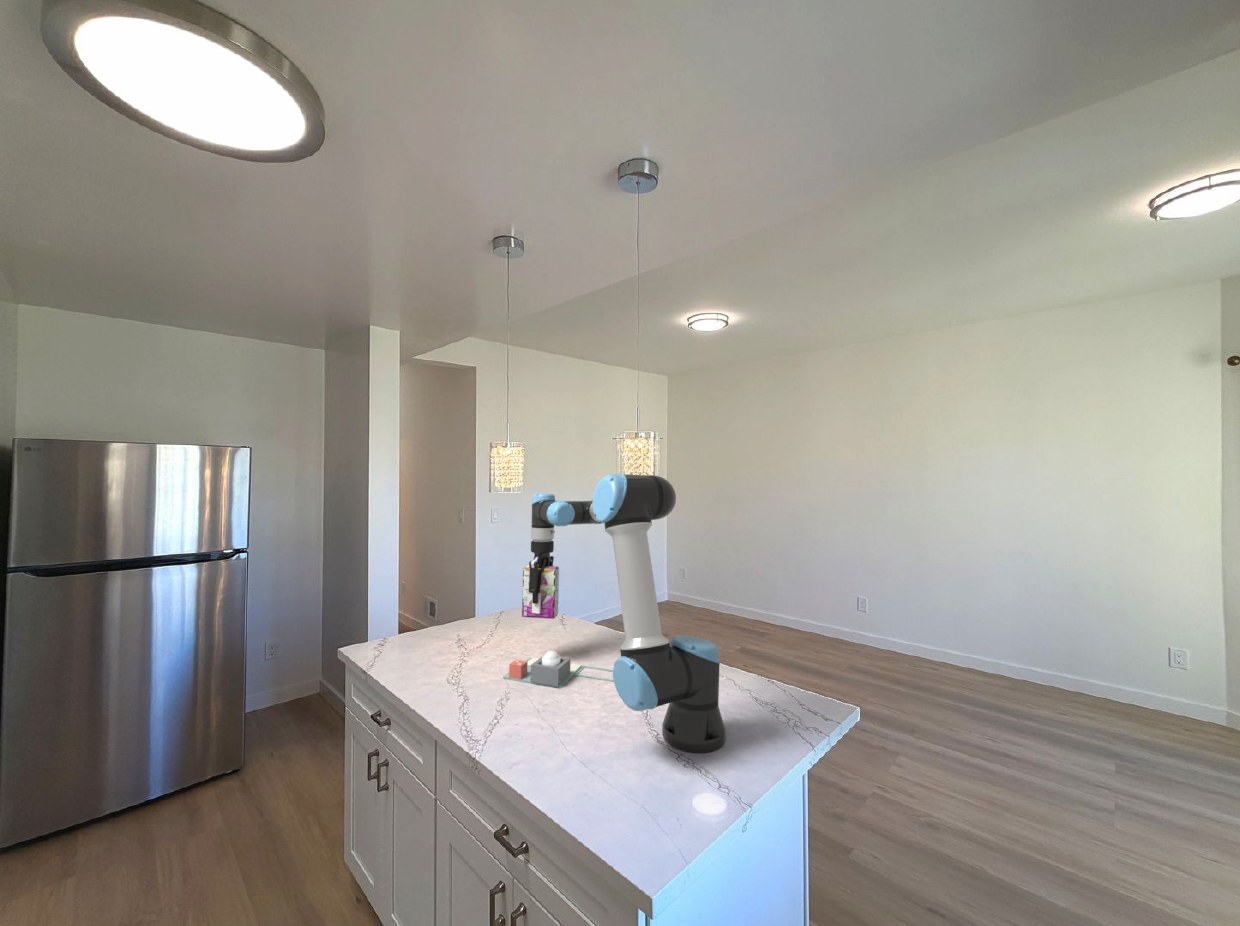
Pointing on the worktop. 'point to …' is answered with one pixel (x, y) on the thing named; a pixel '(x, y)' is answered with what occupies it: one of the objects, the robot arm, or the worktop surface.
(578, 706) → the worktop surface
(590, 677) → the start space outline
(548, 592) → the candy bar box
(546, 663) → the dome plunger
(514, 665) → the game board
